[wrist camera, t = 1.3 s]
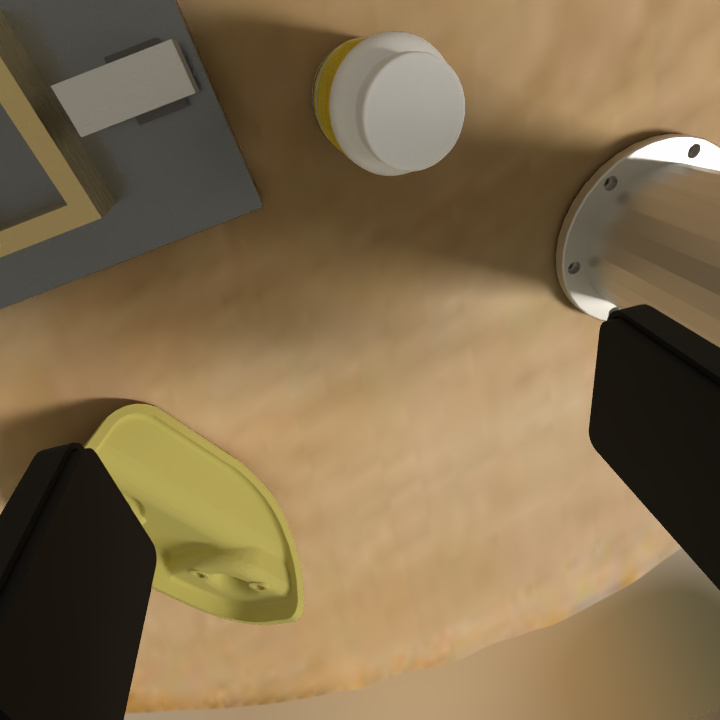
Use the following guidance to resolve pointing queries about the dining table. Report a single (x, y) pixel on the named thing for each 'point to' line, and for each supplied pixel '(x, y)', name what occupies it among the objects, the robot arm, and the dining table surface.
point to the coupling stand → (106, 140)
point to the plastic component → (203, 518)
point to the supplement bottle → (389, 102)
